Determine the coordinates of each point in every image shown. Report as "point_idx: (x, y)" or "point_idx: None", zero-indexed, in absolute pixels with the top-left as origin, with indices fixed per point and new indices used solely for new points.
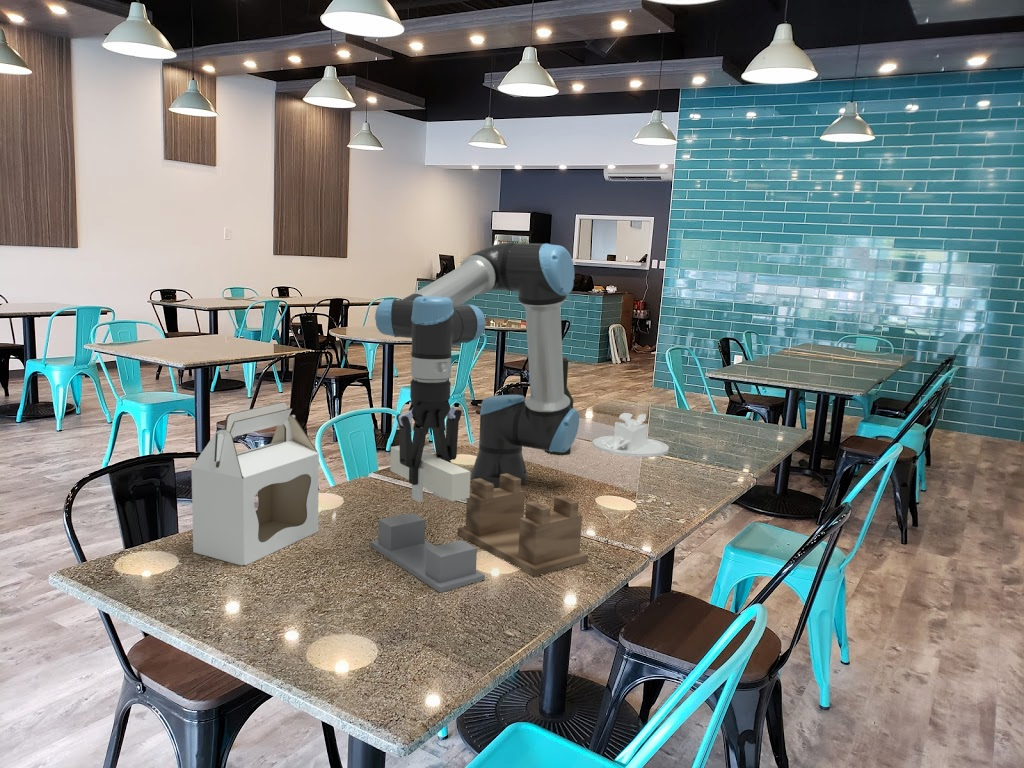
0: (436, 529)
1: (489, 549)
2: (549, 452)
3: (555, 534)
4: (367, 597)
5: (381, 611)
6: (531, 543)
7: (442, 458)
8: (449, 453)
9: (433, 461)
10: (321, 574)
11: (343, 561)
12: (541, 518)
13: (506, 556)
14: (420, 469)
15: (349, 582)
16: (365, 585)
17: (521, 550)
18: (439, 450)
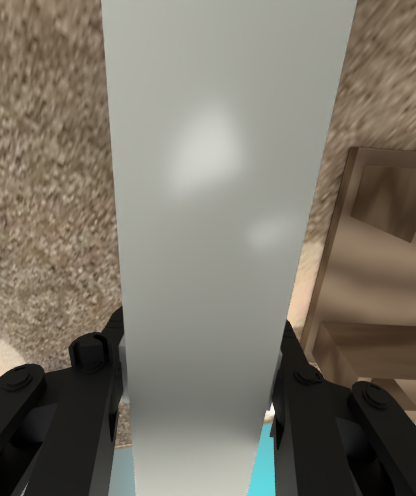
0: (342, 84)
1: (324, 257)
2: None
3: None
4: (59, 279)
5: (62, 320)
6: (328, 372)
7: (275, 440)
8: (356, 446)
9: (185, 462)
10: (13, 161)
11: (71, 129)
12: None
13: (315, 301)
14: (126, 401)
15: (51, 220)
16: (71, 244)
17: (325, 337)
18: (280, 487)
